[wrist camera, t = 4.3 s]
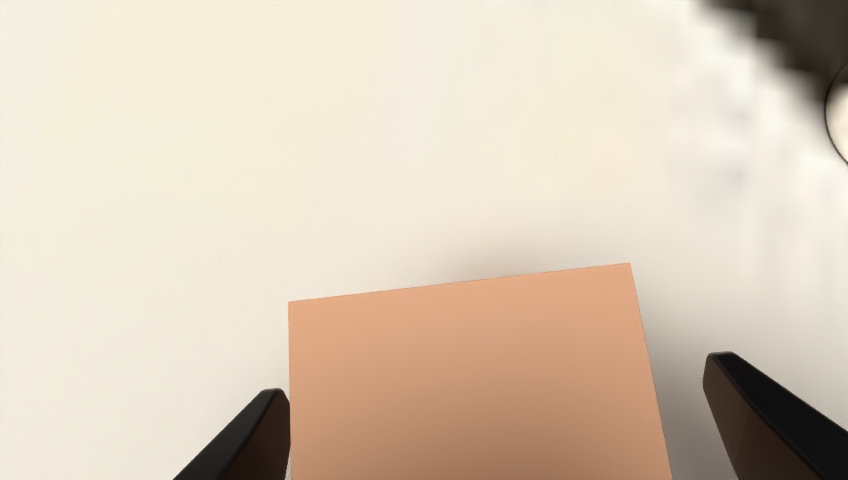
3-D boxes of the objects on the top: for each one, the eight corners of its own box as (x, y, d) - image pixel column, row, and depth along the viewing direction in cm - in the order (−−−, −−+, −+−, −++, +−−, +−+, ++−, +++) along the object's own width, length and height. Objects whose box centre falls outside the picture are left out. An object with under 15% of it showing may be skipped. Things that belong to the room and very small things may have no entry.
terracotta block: (581, 461, 16) (716, 707, 5) (436, 468, 16) (295, 691, 6) (558, 313, 17) (629, 262, 6) (424, 326, 18) (288, 301, 7)
